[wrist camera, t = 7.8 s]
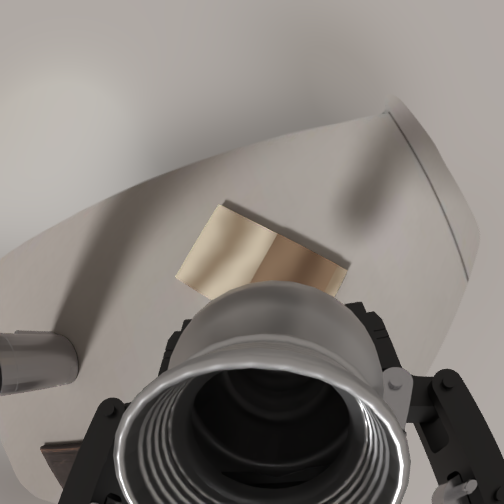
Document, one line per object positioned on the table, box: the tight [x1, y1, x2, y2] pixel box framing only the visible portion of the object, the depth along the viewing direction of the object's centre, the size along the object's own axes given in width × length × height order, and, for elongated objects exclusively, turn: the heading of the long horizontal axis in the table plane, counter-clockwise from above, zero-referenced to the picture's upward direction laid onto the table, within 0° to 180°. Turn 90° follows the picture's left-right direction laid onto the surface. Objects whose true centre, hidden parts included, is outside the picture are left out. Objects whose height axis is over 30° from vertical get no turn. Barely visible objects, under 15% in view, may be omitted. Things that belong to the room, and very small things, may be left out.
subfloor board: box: [175, 205, 348, 300], centre depth 37 cm, size 20×12×1 cm, turn 60°
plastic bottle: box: [113, 280, 411, 504], centre depth 12 cm, size 6×7×20 cm
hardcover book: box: [40, 443, 82, 489], centre depth 32 cm, size 16×23×2 cm
